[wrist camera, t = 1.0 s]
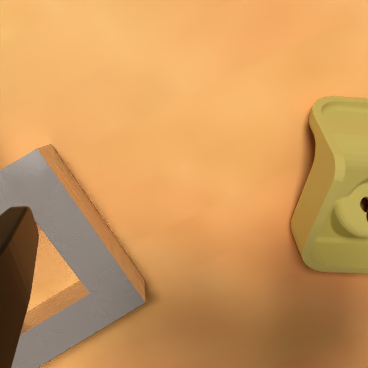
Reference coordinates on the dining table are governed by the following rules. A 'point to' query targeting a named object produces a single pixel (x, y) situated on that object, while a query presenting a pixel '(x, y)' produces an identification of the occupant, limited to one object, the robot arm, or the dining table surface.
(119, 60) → the dining table surface
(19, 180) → the hole plate
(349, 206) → the plastic component
